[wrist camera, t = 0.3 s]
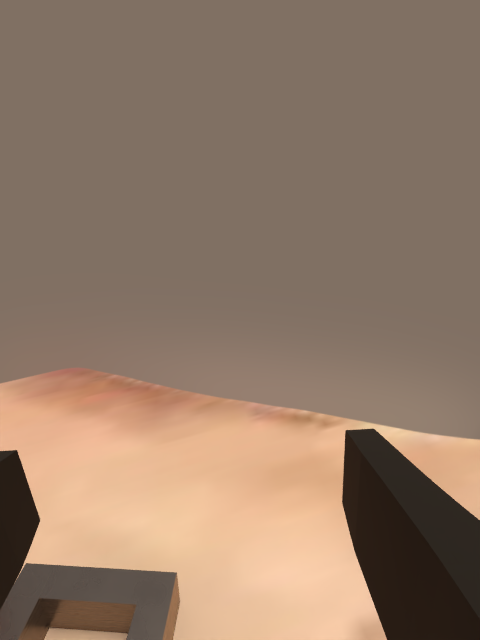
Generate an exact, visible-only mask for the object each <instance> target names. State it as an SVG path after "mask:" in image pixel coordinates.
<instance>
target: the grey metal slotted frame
mask: <svg viewBox="0 0 480 640" xmlns="http://www.w3.org/2000/svg"><path fill="white" fill-rule="evenodd" d="M179 603H180V598H179V589H178V579H177V573H174V572H158V571H141V570H125V569H109V568H93V567H77V566H61V565H44V564H28V563H26V564H25V566H24V568H23V570H22V571H21V573H20V575H19V577H18V578H17V580H16V582H15V583H14V585H13V587H12V589H11V590H10V592H9V594H8V596H7V598H6V600H5V602H4V604H3V606H2V608H1V610H0V640H44V638H45V635H46V633H47V631H48V629H49V627H55V628H69V629H83V630H97V631H111V632H125V633H128V636H127V640H173V635H174V630H175V624H176V619H177V614H178V609H179Z"/></svg>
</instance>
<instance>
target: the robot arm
mask: <svg viewBox="0 0 480 640" xmlns="http://www.w3.org/2000/svg"><path fill="white" fill-rule="evenodd" d="M342 503H343V507H344V511H345V515H346V519H347V523H348V527H349V531H350V535H351V539H352V543H353V546H354V550H355V553H356V556H357V559H358V562H359V564H360V567H361V570H362V573H363V575H364V578H365V581H366V583H367V586H368V589H369V592H370V594H371V597H372V600H373V602H374V605H375V608H376V611H377V613H378V616H379V619H380V621H381V624H382V627H383V629H384V632H385V635H386V637H387V640H480V520H478V519H477V518H476V517H475V516H474V515H472V514H471V513H470V512H469V511H467V510H466V509H465V508H464V507H462V506H461V505H460V504H459V503H458V502H456V501H455V500H454V499H453V498H452V497H450V496H449V495H448V494H447V493H446V492H445V491H443V490H442V489H441V488H440V487H439V486H437V485H436V484H435V483H434V482H433V481H432V480H430V479H429V478H428V477H427V476H426V475H425V474H424V473H423V472H421V471H420V470H419V469H418V468H417V467H416V466H415V465H414V464H412V463H411V462H410V461H409V460H408V459H407V458H406V457H405V456H403V455H402V454H401V453H400V452H399V451H398V450H397V449H396V448H395V447H394V446H392V445H391V444H390V443H389V442H388V441H387V440H386V439H385V438H384V437H382V436H381V435H380V434H379V433H378V432H377V431H376V430H375V429H361V430H346V433H345V455H344V476H343V498H342ZM39 522H40V518H39V515H38V512H37V509H36V506H35V503H34V500H33V497H32V494H31V491H30V488H29V485H28V482H27V479H26V476H25V473H24V470H23V467H22V464H21V461H20V458H19V455H18V452H17V450H13V451H0V610H1V608H2V606H3V604H4V602H5V600H6V598H7V596H8V594H9V592H10V590H11V589H12V587H13V585H14V583H15V581H16V579H17V577H18V575H19V573H20V571H21V569H22V566H23V564H24V561H25V559H26V556H27V554H28V551H29V549H30V546H31V544H32V541H33V538H34V536H35V533H36V530H37V528H38V525H39Z"/></svg>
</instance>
